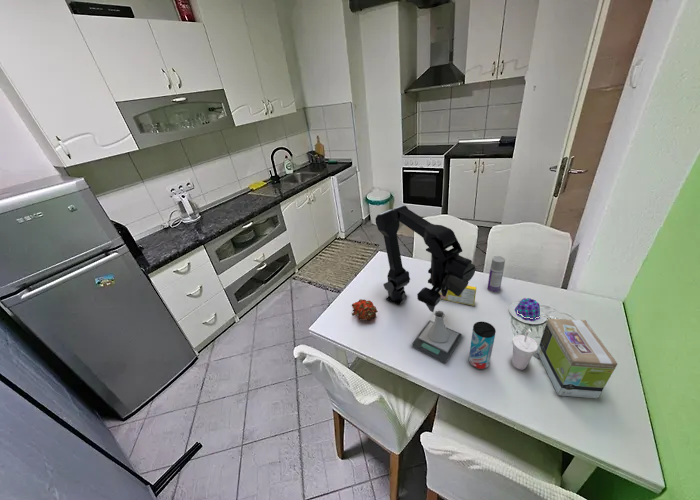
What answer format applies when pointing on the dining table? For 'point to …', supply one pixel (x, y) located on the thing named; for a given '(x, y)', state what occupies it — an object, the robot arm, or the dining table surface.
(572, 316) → the dining table surface
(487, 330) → the beverage can
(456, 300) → the candy box
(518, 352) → the smoothie
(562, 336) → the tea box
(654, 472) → the dining table surface
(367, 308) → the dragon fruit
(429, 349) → the scale
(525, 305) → the pudding
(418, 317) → the dining table surface
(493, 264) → the container
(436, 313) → the flask
